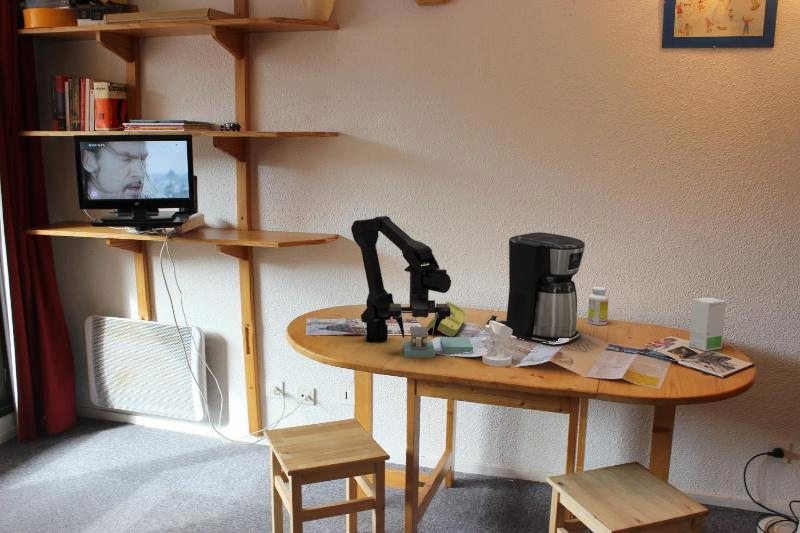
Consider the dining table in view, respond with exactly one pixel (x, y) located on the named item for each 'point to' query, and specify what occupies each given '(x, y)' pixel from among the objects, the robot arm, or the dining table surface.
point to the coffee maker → (543, 287)
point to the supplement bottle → (598, 306)
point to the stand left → (418, 351)
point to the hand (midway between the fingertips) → (418, 337)
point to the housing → (418, 343)
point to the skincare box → (707, 323)
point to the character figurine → (497, 345)
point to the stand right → (456, 345)
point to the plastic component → (450, 321)
